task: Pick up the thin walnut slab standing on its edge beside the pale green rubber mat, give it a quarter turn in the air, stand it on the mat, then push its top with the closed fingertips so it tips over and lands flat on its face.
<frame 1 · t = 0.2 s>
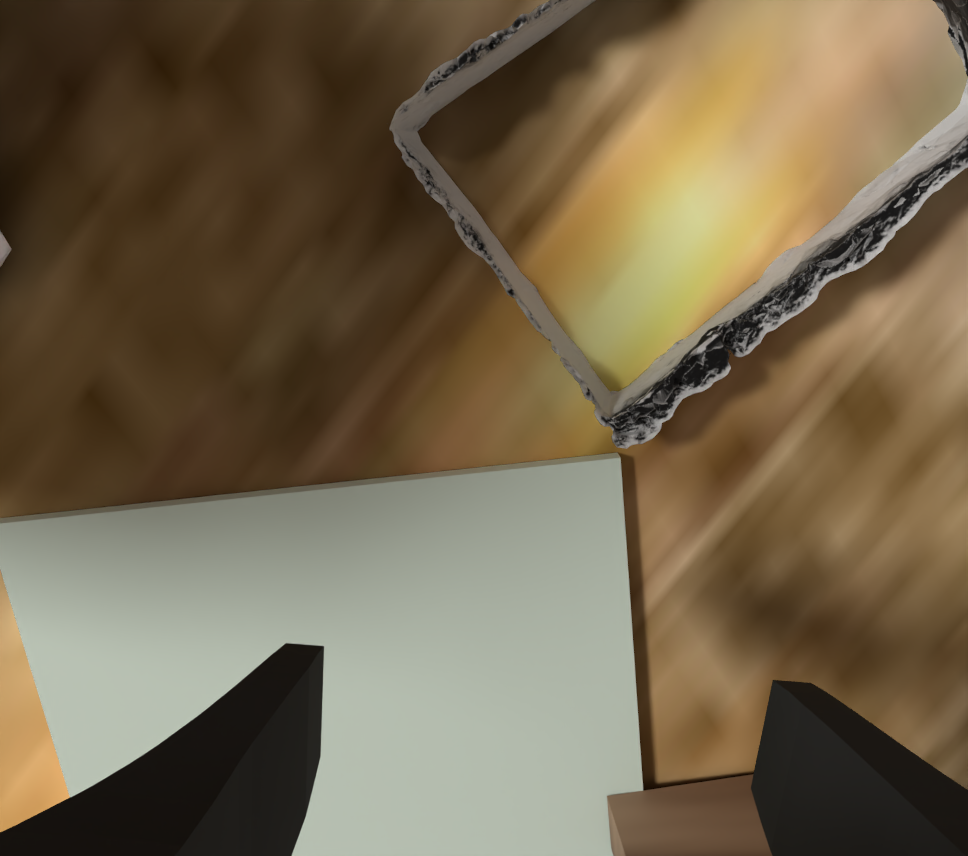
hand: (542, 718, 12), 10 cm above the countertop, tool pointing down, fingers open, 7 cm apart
walnut slab: (732, 803, 24), on the countertop, touching mat
mat: (352, 752, 23), on the countertop
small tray: (705, 138, 19), on the countertop
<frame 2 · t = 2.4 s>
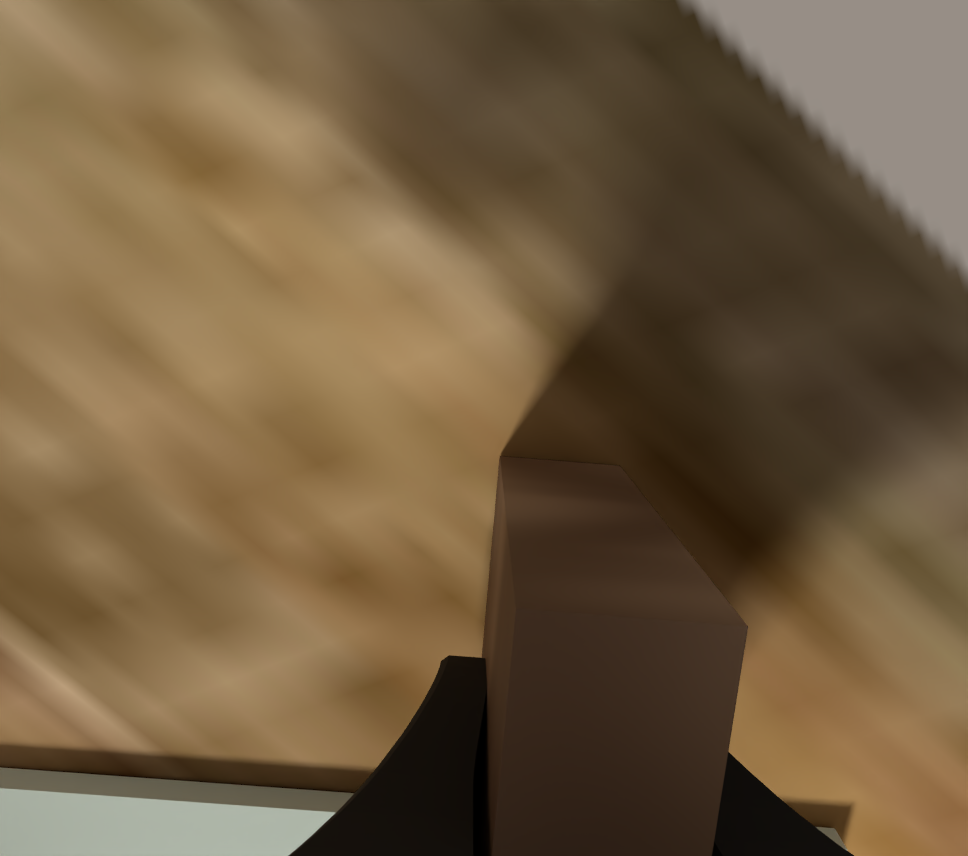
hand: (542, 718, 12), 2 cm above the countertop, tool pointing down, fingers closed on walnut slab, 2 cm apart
walnut slab: (536, 682, 13), on the countertop, touching gripper, mat
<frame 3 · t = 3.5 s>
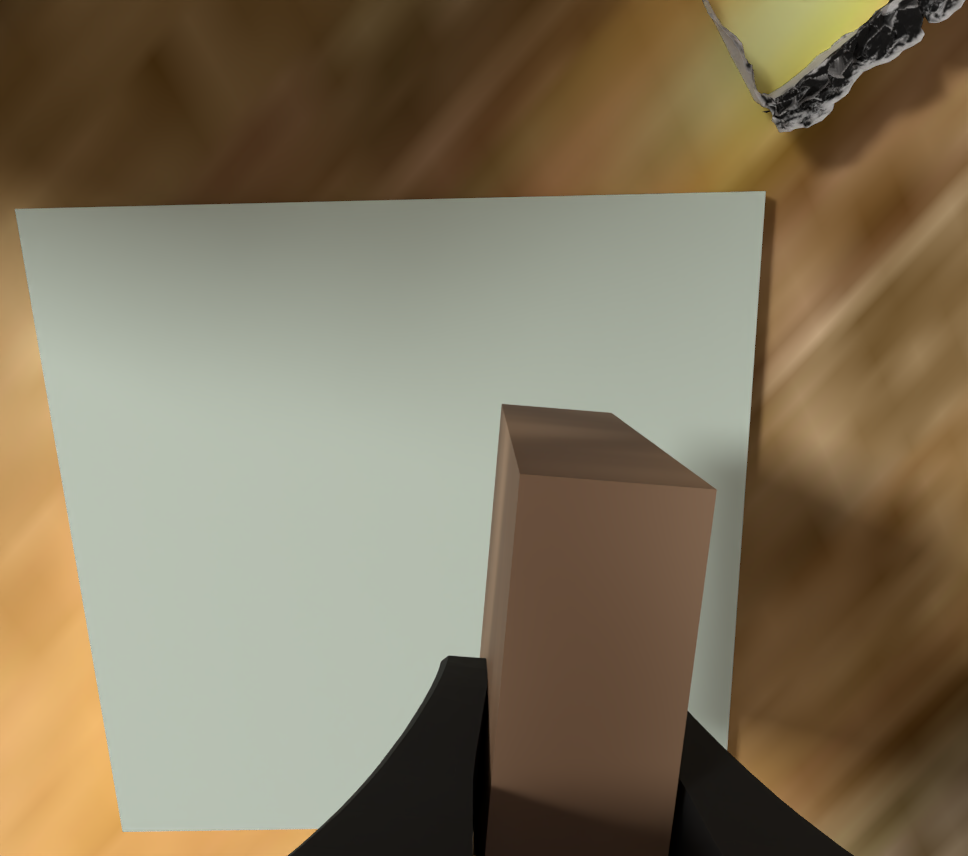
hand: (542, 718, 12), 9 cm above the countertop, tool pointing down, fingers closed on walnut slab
walnut slab: (536, 617, 14), point 6 cm above the countertop, tilted 6°, touching gripper
mat: (408, 541, 20), on the countertop
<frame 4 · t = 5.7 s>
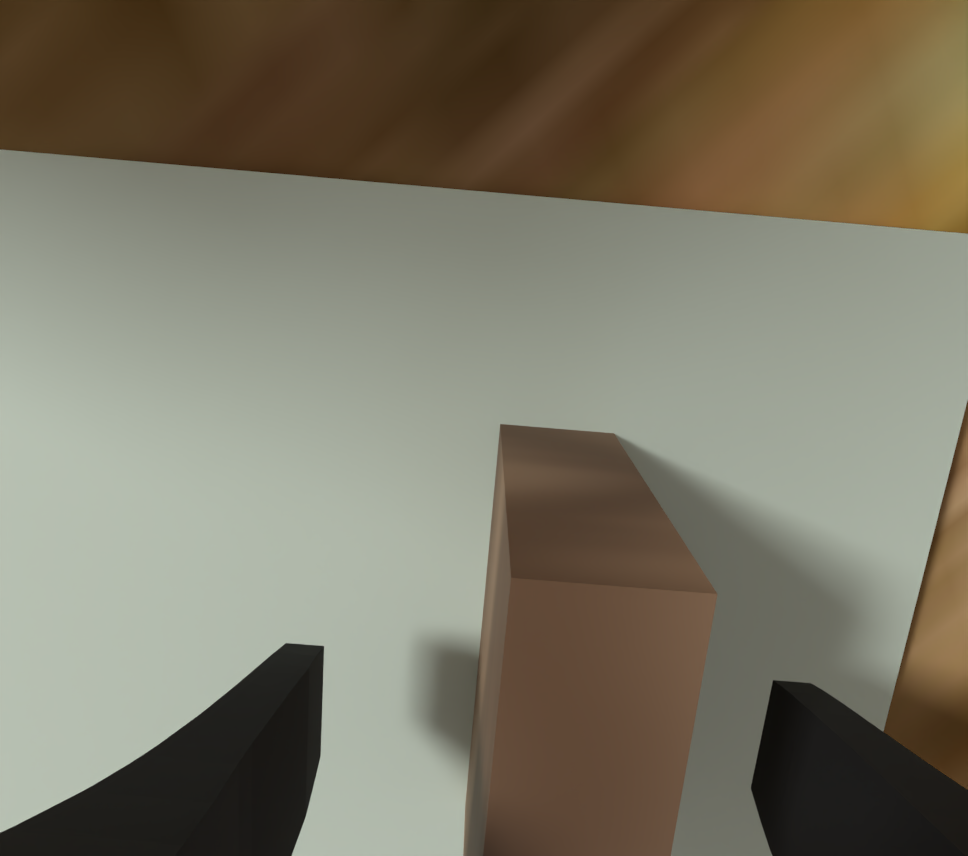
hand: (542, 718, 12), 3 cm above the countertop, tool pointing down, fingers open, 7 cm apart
walnut slab: (534, 633, 14), resting on mat
mat: (427, 664, 15), on the countertop
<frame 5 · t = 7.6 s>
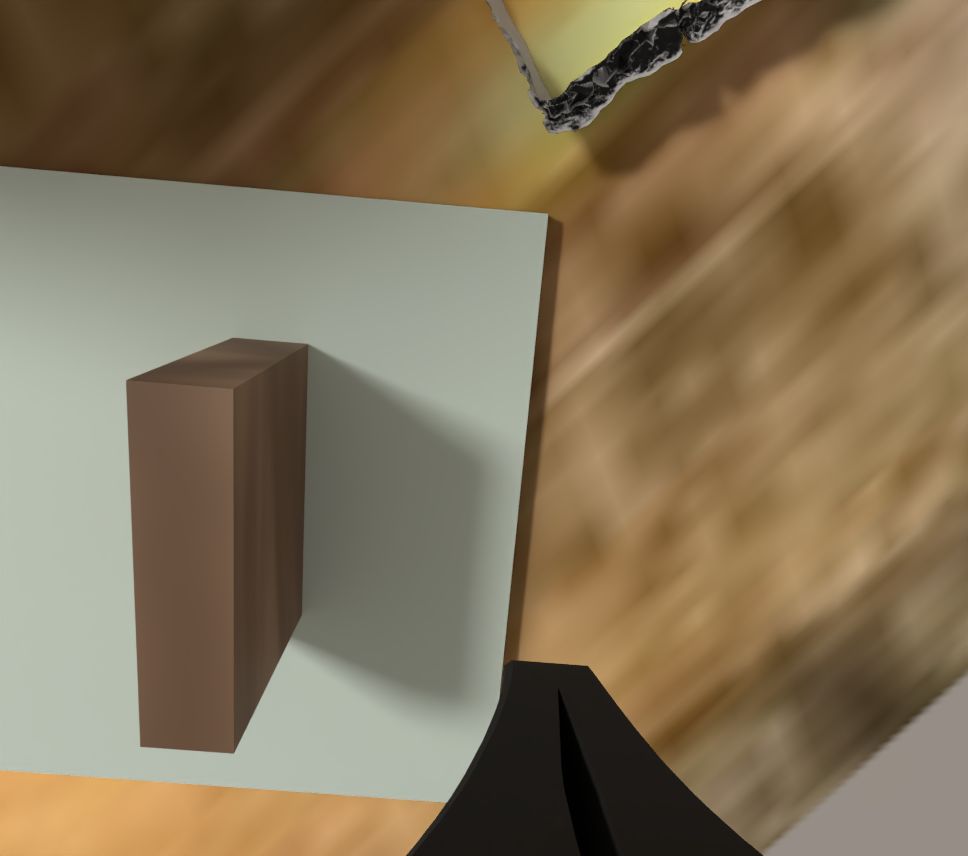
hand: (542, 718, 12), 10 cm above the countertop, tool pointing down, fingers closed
walnut slab: (269, 483, 21), resting on mat
mat: (204, 510, 21), on the countertop
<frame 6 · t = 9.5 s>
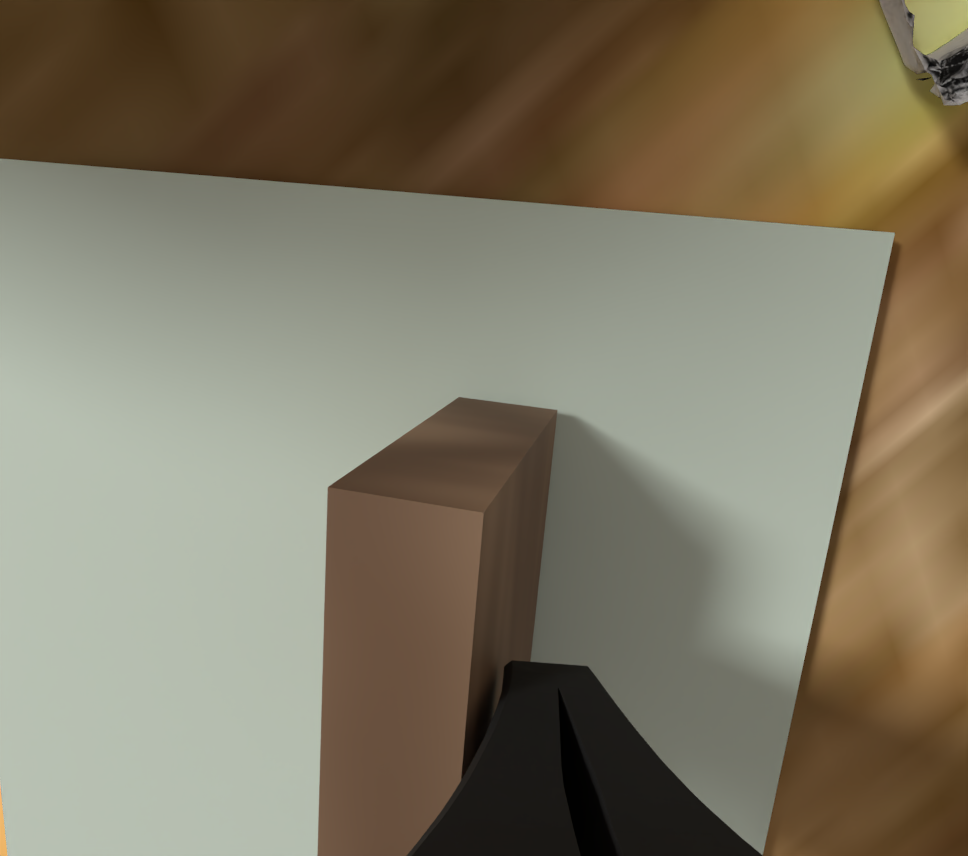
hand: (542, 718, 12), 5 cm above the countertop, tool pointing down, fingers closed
walnut slab: (490, 587, 16), point 1 cm above the countertop, tilted 14°, touching gripper, mat
mat: (399, 613, 17), on the countertop
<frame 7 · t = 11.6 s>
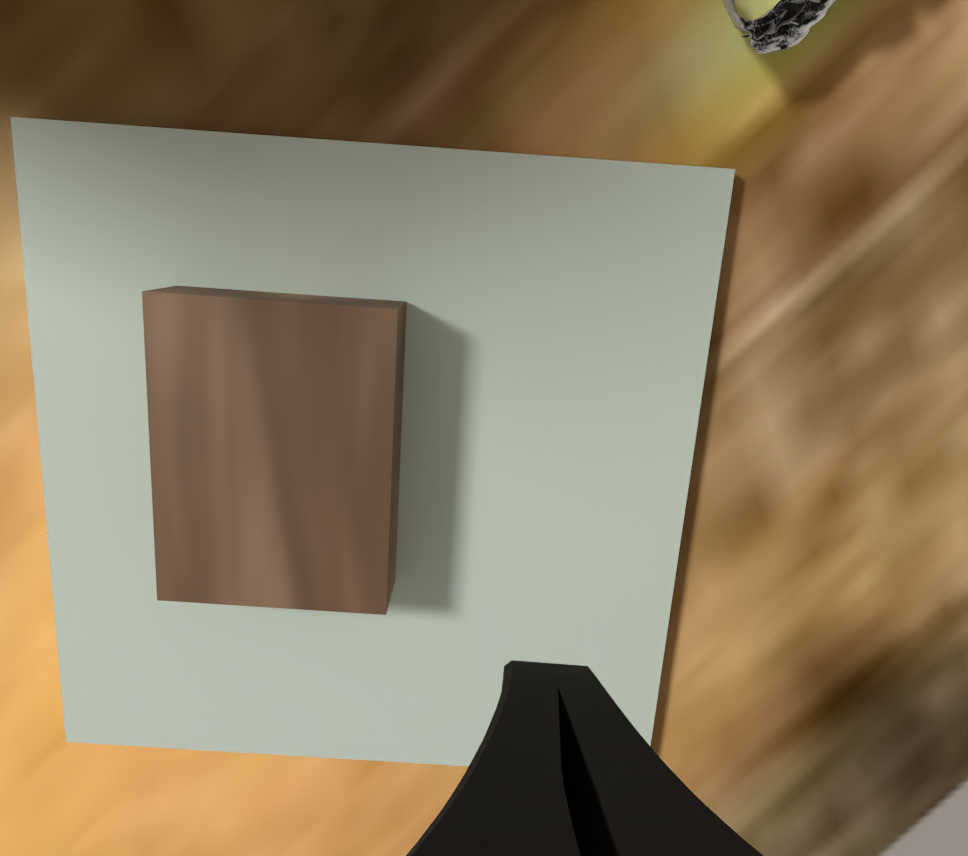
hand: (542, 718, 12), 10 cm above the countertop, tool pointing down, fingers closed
walnut slab: (396, 458, 19), point 1 cm above the countertop, tilted 90°, touching mat
mat: (368, 479, 21), on the countertop
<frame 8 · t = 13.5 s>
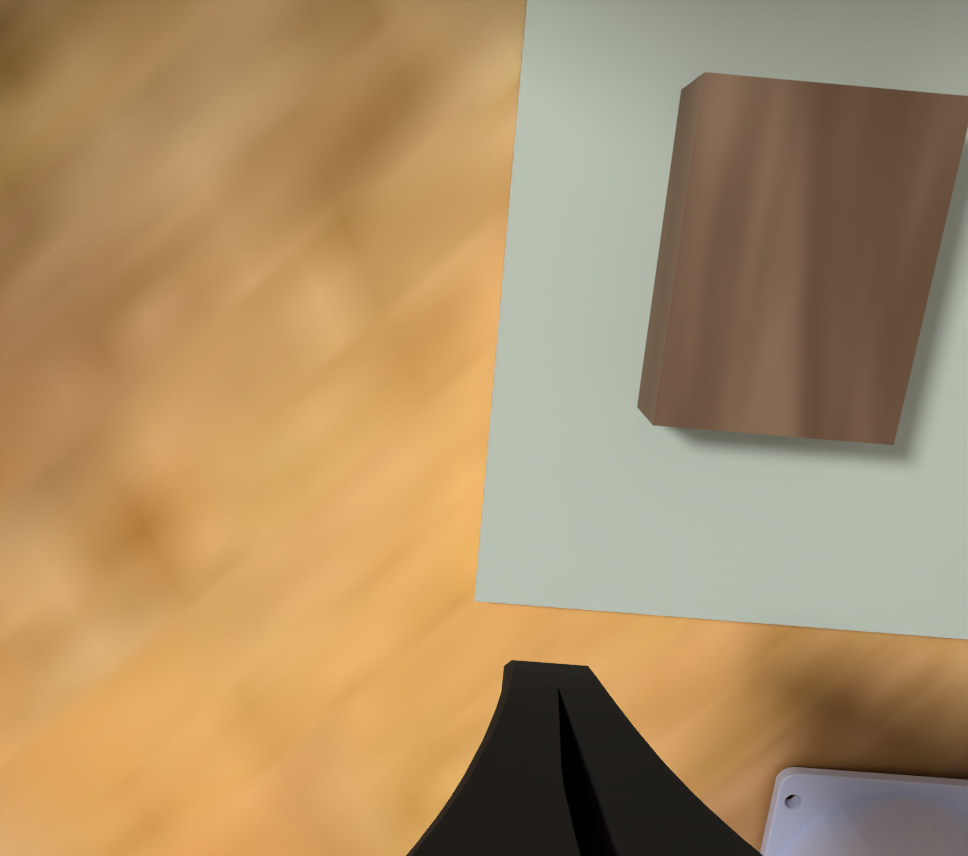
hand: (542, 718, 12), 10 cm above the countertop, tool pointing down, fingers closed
walnut slab: (908, 278, 18), point 1 cm above the countertop, tilted 90°, touching mat
mat: (833, 316, 20), on the countertop
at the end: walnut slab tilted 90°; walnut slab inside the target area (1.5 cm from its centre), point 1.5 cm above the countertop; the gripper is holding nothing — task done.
